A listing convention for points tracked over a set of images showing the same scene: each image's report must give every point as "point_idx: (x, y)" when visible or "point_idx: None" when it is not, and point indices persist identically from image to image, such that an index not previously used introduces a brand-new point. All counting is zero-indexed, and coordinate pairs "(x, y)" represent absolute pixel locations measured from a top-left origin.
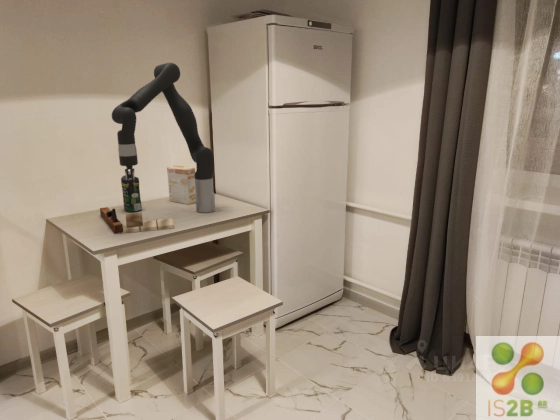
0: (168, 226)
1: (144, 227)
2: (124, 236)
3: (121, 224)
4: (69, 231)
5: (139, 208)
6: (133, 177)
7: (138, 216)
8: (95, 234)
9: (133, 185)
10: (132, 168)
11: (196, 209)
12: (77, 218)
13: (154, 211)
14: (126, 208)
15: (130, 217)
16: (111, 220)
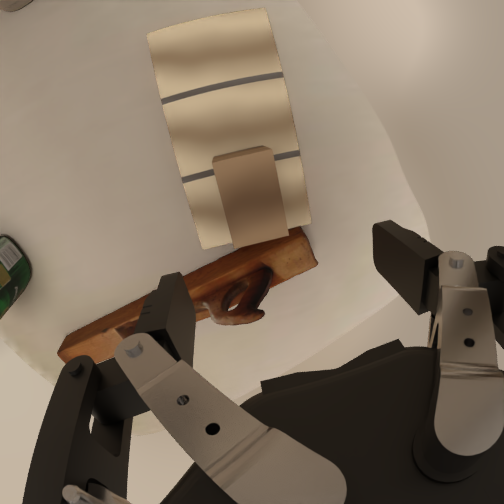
0: (270, 30)
1: (289, 133)
2: (348, 204)
3: (306, 239)
4: (254, 385)
5: (6, 243)
6: (484, 302)
7: (275, 168)
8: (301, 312)
9: (429, 249)
10: (73, 498)
11: (23, 3)
12: None
13: (6, 177)
14: (22, 291)
15: (282, 210)
16: (238, 298)
